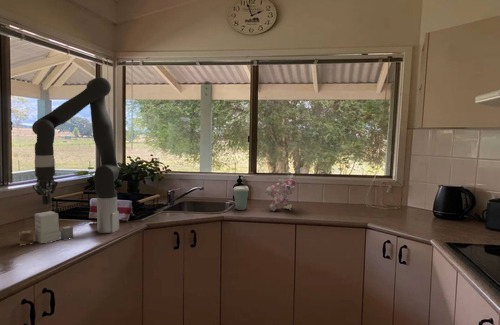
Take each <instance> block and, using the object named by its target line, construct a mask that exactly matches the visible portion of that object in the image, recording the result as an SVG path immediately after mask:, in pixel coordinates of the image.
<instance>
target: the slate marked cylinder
mask: <svg viewBox="0 0 500 325" xmlns="http://www.w3.org/2000/svg"><path fill="white" fill-rule="evenodd" d="M69 238H73V239H74V227H73V226H69V225H68V226H67V225H66V226H63V227H60V240H61V239H69Z"/></svg>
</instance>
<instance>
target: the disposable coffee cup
mask: <svg viewBox="0 0 500 325" xmlns="http://www.w3.org/2000/svg"><path fill="white" fill-rule="evenodd" d="M232 191H233V198H234V204H235V208H236V210H239V211H241V210H242V211H244V210H246V208H247V203H248V195H249V191H250V189H249V187H248V186H247V185H239V186H234V187H233V188H232Z"/></svg>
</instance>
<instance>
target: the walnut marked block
mask: <svg viewBox="0 0 500 325" xmlns="http://www.w3.org/2000/svg"><path fill="white" fill-rule="evenodd" d="M34 241H35V239H34V231H33V230H32V229H31V230H25V231H24V230H23V231H19V232H18V243H19V244H20V245H21V244H30V243H34ZM34 244H35V243H34ZM20 245H19V246H20Z"/></svg>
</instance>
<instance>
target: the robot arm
mask: <svg viewBox="0 0 500 325" xmlns="http://www.w3.org/2000/svg"><path fill="white" fill-rule="evenodd" d="M111 89H112V86H111V83H110V81H109V80H108V79H107V78H105V77H99V76H98V77H95V78H93V79H91V80H89V81H88V82H87V84H86V88H85V89H84V90H82V91H81V92H79V93H78V94H76V95H74V96H73V97H71V98H70V99H68V100H65V101H64V102H62V103H61V104H60V105H59V106H57V107H55V109H53V110H51V112H49V113H47V114H45V115H44V116H42V117H40V118H38V119H37V120H36V121H34V122H33V124H32V127H31V129H32V132H33V133H34V134H35V135H36V142H35V143H34V175H35V177H36V178H37V179H36V184H33V185H32V189H33V190H34V192H36V194H37V195H38V196H41V197H42V198H41V200H42V204H43V205H45V206H47V205H50V204H51V195H52V194H54V193H55V191H56V189H57V186H58V184H59V182H58V181H56V180H55V178H54V176H55V175H56V162H55V153H54V141H55V136H56V135H55V134H56V130H55V129H56V128H57V127H58V126H61V125H63V124H65V123H67V122H68V121H69V120H71V119H72V118H73V117H75V116H76V115H77V114H78V113H80V112H81V111H82V110H83V109H85V108H86V107H87V106H89V108H90V120H91V129H92V136H93V140H94V144H95V146H96V148H97V150H98V153H99V155H100V157H99V158H100V165H99V166H98V167H97V168H96V169H95V172H94V191H95V193H96V217H97V218H96V221H97V222H96V223H97V226H96V227H97V231H96V232H97V233H99V234H100V233H101V234H108V233H109V234H111V233H112V234H113V233H115V232H117V231H119V230H120V212H119V210H118V191H117V190H116V188H115V181H117V180H118V178H119V175H120V174H119V173H120V170H119V167H118V162H117V161H118V160H117V157H116V150H115V148H116V147H115V139H114V138H115V137H114V129H113V128H114V127H113V123H112V120H111V117H110V115H109V113H108V111H107V107H106V96H108V95H109V94H110V92H111Z"/></svg>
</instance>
